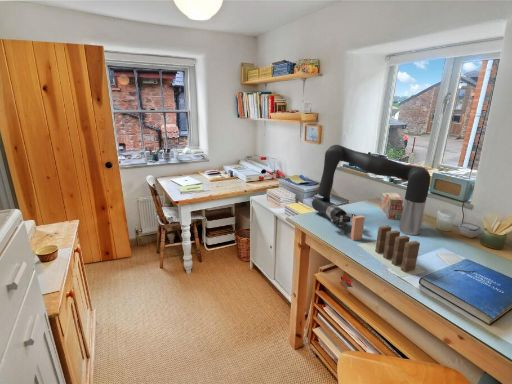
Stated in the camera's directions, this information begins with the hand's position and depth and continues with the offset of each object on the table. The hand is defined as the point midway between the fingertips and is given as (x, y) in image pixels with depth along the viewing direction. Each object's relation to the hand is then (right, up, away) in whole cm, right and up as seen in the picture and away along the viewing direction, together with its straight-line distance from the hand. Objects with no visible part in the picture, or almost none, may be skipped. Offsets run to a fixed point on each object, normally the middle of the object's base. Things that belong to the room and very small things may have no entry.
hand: (354, 225), depth 139 cm
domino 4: (+12, -14, -26) cm, 32 cm away
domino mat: (+9, -12, -17) cm, 22 cm away
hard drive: (+34, -14, -21) cm, 42 cm away
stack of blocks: (+32, +4, +33) cm, 46 cm away
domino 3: (+11, -13, -22) cm, 28 cm away
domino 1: (+8, -10, -13) cm, 18 cm away
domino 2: (+9, -12, -17) cm, 23 cm away
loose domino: (+1, -7, -1) cm, 7 cm away
